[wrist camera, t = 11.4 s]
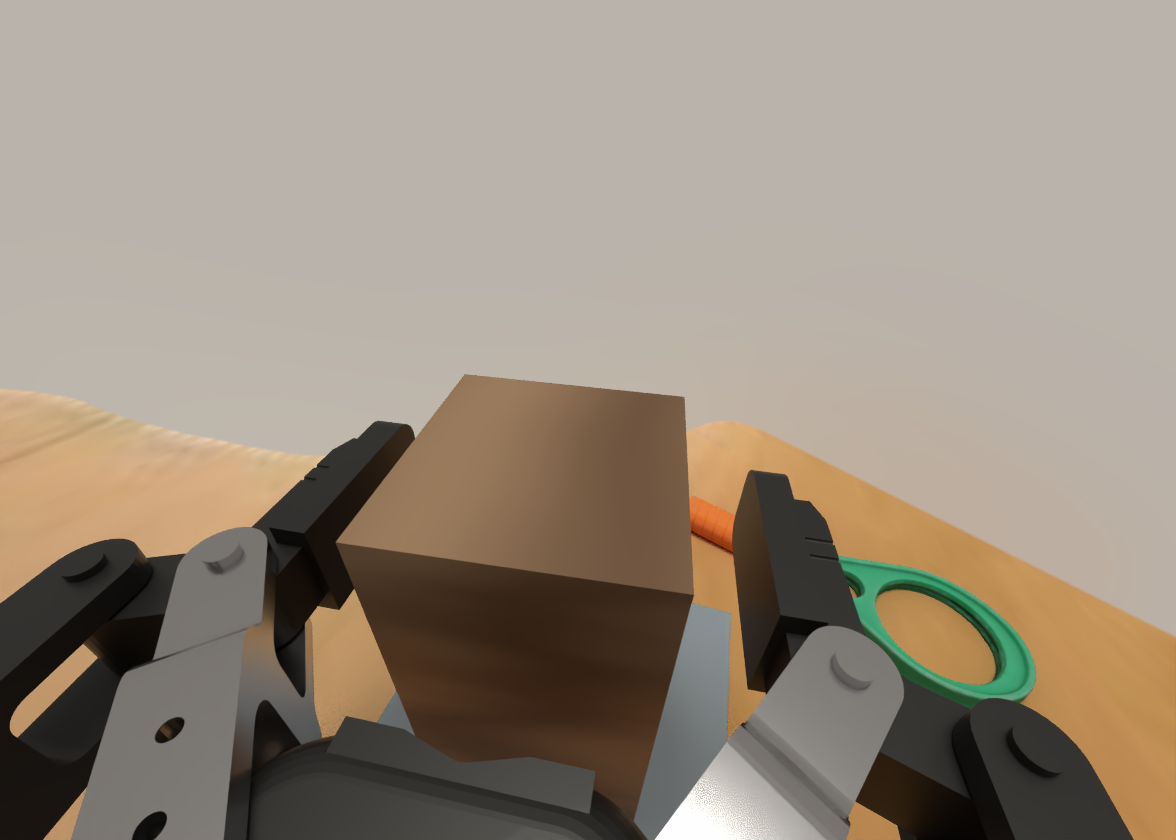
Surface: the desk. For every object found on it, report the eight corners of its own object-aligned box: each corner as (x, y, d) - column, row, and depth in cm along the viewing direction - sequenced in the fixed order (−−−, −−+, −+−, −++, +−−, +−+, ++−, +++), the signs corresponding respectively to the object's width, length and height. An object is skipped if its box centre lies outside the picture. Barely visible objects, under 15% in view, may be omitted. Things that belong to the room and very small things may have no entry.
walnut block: (440, 797, 12) (335, 542, 6) (498, 624, 16) (464, 374, 11) (629, 835, 12) (694, 594, 6) (640, 646, 16) (684, 397, 10)
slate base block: (337, 904, 13) (290, 864, 11) (491, 607, 21) (482, 548, 19) (686, 1069, 11) (716, 1062, 9) (711, 670, 19) (731, 613, 17)
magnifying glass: (1015, 631, 21) (1037, 608, 20) (1026, 756, 17) (1054, 734, 16) (704, 493, 28) (709, 471, 27) (658, 557, 24) (662, 534, 23)
